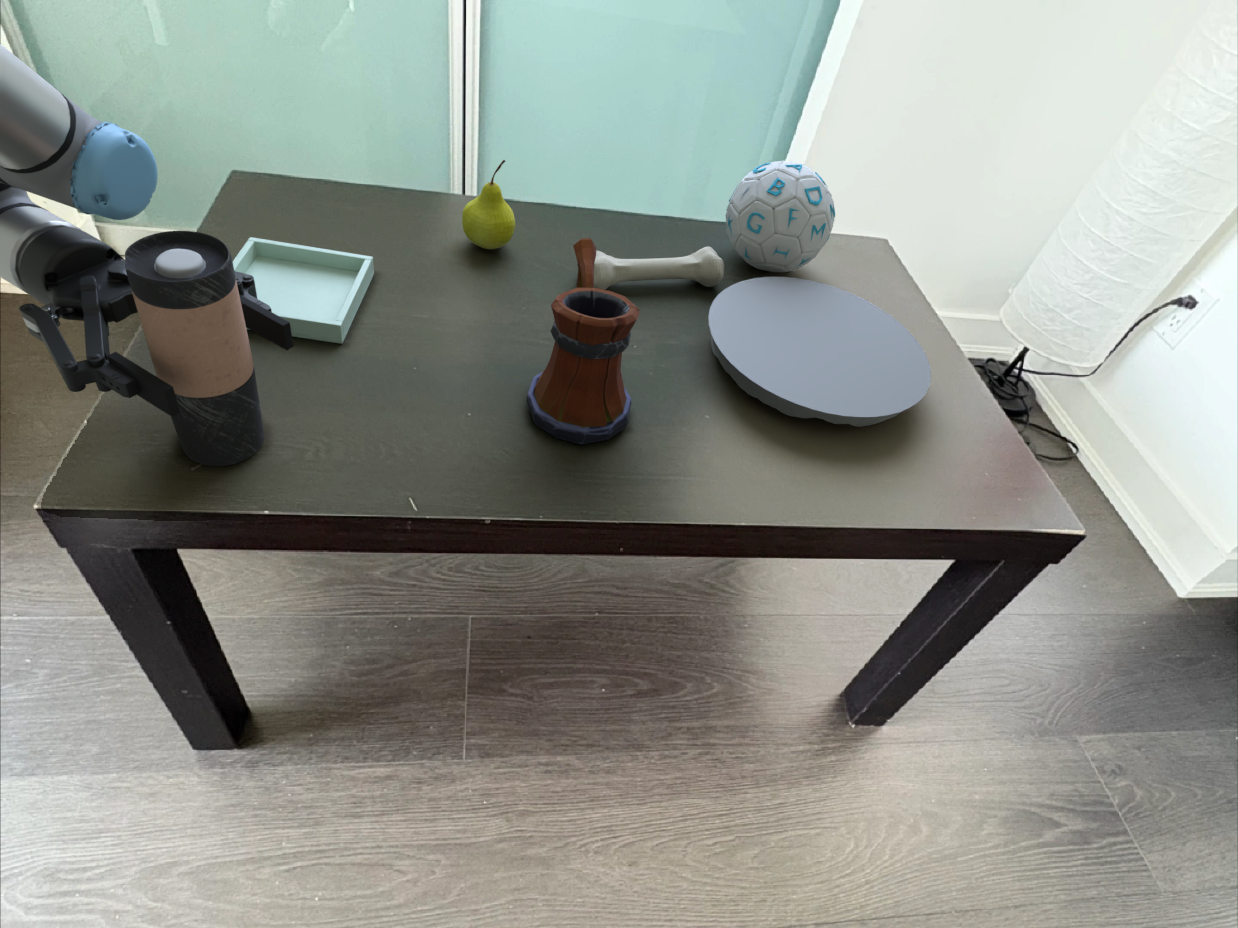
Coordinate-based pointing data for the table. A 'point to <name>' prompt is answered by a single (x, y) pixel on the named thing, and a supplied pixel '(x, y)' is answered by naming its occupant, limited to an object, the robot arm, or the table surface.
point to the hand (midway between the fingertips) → (234, 367)
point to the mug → (585, 360)
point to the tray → (307, 285)
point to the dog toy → (659, 268)
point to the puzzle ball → (780, 216)
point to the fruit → (489, 218)
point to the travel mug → (198, 342)
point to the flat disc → (817, 351)
